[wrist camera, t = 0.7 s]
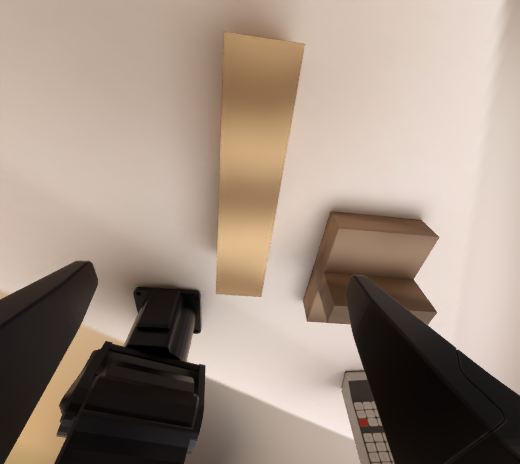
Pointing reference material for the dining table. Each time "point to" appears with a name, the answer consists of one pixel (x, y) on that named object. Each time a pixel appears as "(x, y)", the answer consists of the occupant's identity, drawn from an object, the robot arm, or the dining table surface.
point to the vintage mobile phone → (365, 420)
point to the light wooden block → (252, 154)
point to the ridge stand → (369, 264)
